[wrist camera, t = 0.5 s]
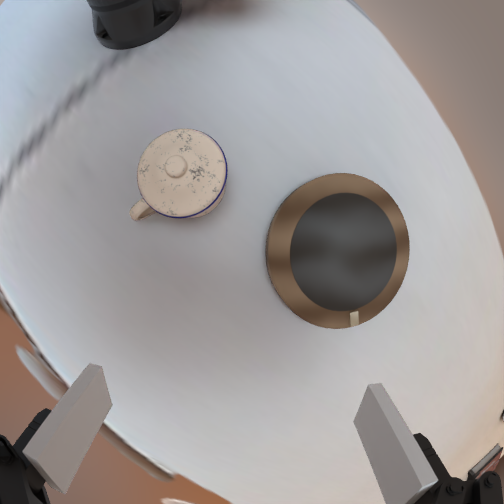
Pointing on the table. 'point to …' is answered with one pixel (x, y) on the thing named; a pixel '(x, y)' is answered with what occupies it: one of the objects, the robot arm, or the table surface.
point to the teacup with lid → (180, 176)
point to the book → (486, 463)
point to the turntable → (337, 250)
